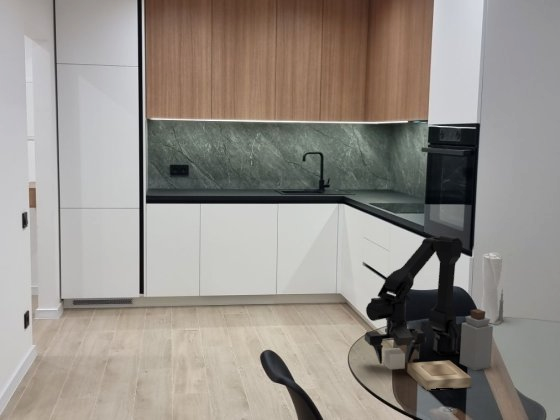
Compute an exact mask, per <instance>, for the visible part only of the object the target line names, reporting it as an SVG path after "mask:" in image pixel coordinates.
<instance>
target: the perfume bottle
mask: <svg viewBox="0 0 560 420" xmlns="http://www.w3.org/2000/svg"><path fill="white" fill-rule="evenodd" d="M465 321H466V322H462V323H461V336H460V349H459V350H460V351H459V352H460V353H459V364H460V365H462V366H465V367H466V368H469V369H471V371H478V370H483V369H488V368H491V366H492V365H491V364H492V352H493V351H492V350H493V332H494V326H493V325H492V324H489V321H490V319H489V318H486V317H485V311H482V310H481V308H480V309H479V308H477V309H471V310H470V315H467V316H465Z"/></svg>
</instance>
